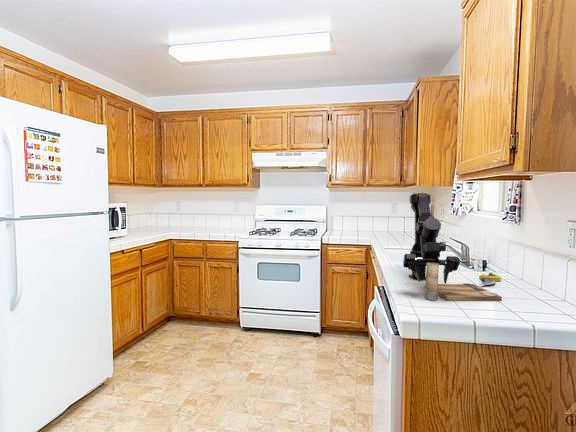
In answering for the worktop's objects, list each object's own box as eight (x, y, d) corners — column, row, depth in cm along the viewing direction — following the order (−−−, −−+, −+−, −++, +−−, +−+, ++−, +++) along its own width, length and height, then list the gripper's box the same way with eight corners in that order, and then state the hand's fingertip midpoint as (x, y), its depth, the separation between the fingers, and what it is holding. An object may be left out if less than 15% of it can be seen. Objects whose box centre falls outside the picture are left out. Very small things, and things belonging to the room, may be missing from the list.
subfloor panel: (425, 287, 137) (425, 282, 137) (473, 287, 138) (473, 283, 138) (447, 300, 120) (447, 295, 120) (501, 300, 122) (501, 295, 121)
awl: (422, 297, 124) (424, 262, 123) (433, 297, 124) (435, 262, 123) (428, 300, 120) (429, 264, 119) (439, 300, 120) (441, 264, 119)
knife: (493, 290, 136) (502, 278, 155) (493, 283, 136) (503, 273, 155) (471, 286, 141) (483, 275, 160) (472, 280, 141) (483, 270, 160)
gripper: (405, 232, 126) (407, 267, 116) (460, 234, 122) (466, 271, 112) (402, 249, 135) (403, 284, 125) (453, 252, 130) (459, 288, 120)
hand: (432, 282), depth 120 cm, fingers open, 8 cm apart
